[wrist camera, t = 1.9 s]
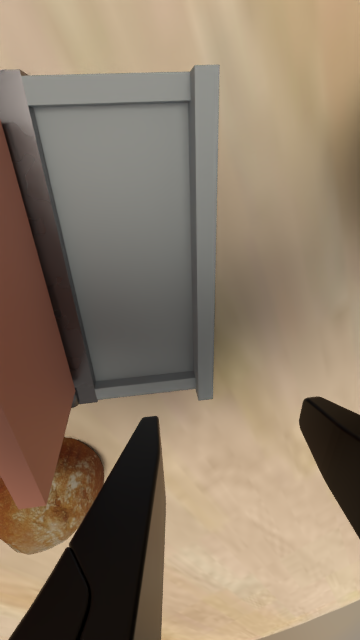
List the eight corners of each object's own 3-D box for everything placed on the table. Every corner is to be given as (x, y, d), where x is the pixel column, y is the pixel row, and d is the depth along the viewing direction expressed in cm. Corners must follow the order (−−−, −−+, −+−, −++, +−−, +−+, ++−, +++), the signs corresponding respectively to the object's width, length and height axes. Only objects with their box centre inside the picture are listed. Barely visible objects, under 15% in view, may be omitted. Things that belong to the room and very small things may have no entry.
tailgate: (0, 119, 13) (-141, 91, 6) (75, 390, 20) (46, 505, 14) (-38, 120, 13) (-222, 93, 6) (52, 393, 20) (11, 510, 14)
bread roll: (63, 472, 33) (83, 553, 28) (-51, 492, 26) (-52, 605, 21) (105, 413, 30) (136, 494, 25) (-13, 418, 23) (-3, 532, 18)
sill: (33, 78, 14) (15, 66, 12) (100, 382, 23) (96, 407, 21) (-16, 80, 14) (-45, 67, 12) (71, 386, 23) (64, 411, 21)
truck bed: (204, 79, 15) (219, 64, 12) (204, 369, 24) (212, 398, 21) (35, 84, 14) (10, 69, 11) (100, 380, 23) (95, 412, 20)
